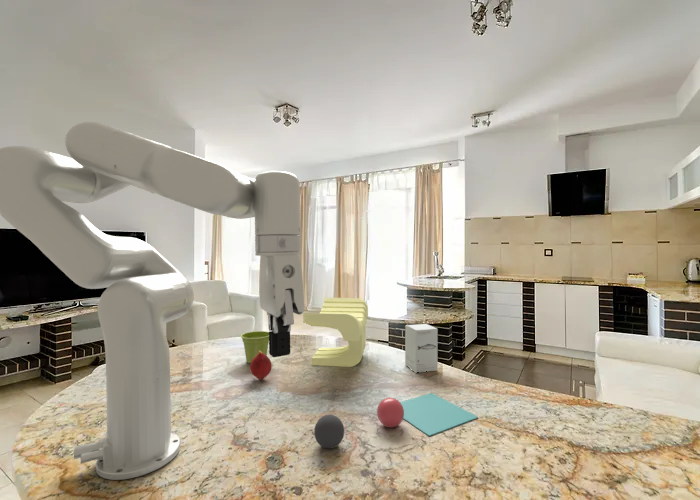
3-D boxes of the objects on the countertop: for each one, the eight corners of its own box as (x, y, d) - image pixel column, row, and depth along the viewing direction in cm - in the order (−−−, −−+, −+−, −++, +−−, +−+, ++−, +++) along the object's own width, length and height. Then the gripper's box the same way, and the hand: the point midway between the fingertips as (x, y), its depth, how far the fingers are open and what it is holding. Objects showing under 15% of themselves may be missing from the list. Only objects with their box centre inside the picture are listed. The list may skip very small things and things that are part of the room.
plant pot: (239, 359, 113) (239, 332, 113) (268, 355, 117) (267, 329, 116) (243, 368, 104) (243, 339, 104) (274, 363, 108) (274, 336, 108)
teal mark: (429, 436, 66) (429, 435, 66) (386, 407, 78) (386, 406, 78) (478, 417, 73) (478, 416, 73) (431, 393, 85) (431, 392, 85)
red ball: (387, 435, 66) (387, 407, 66) (371, 423, 71) (371, 396, 71) (409, 428, 69) (409, 401, 69) (393, 416, 74) (393, 391, 74)
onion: (274, 376, 98) (274, 348, 98) (267, 384, 92) (267, 354, 92) (254, 375, 98) (254, 347, 98) (246, 383, 92) (246, 353, 92)
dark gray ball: (322, 458, 59) (322, 427, 59) (309, 443, 64) (309, 413, 64) (349, 449, 62) (349, 418, 62) (335, 434, 67) (335, 406, 67)
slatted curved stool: (359, 377, 96) (358, 314, 96) (303, 375, 98) (303, 313, 98) (367, 346, 126) (367, 298, 126) (325, 345, 128) (325, 297, 128)
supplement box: (415, 373, 99) (415, 330, 99) (404, 365, 106) (404, 324, 106) (438, 371, 101) (438, 328, 101) (426, 363, 108) (426, 322, 108)
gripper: (317, 246, 53) (318, 363, 54) (284, 246, 66) (285, 341, 67) (269, 246, 50) (271, 372, 50) (245, 247, 63) (246, 347, 63)
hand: (279, 354), depth 58 cm, fingers closed
